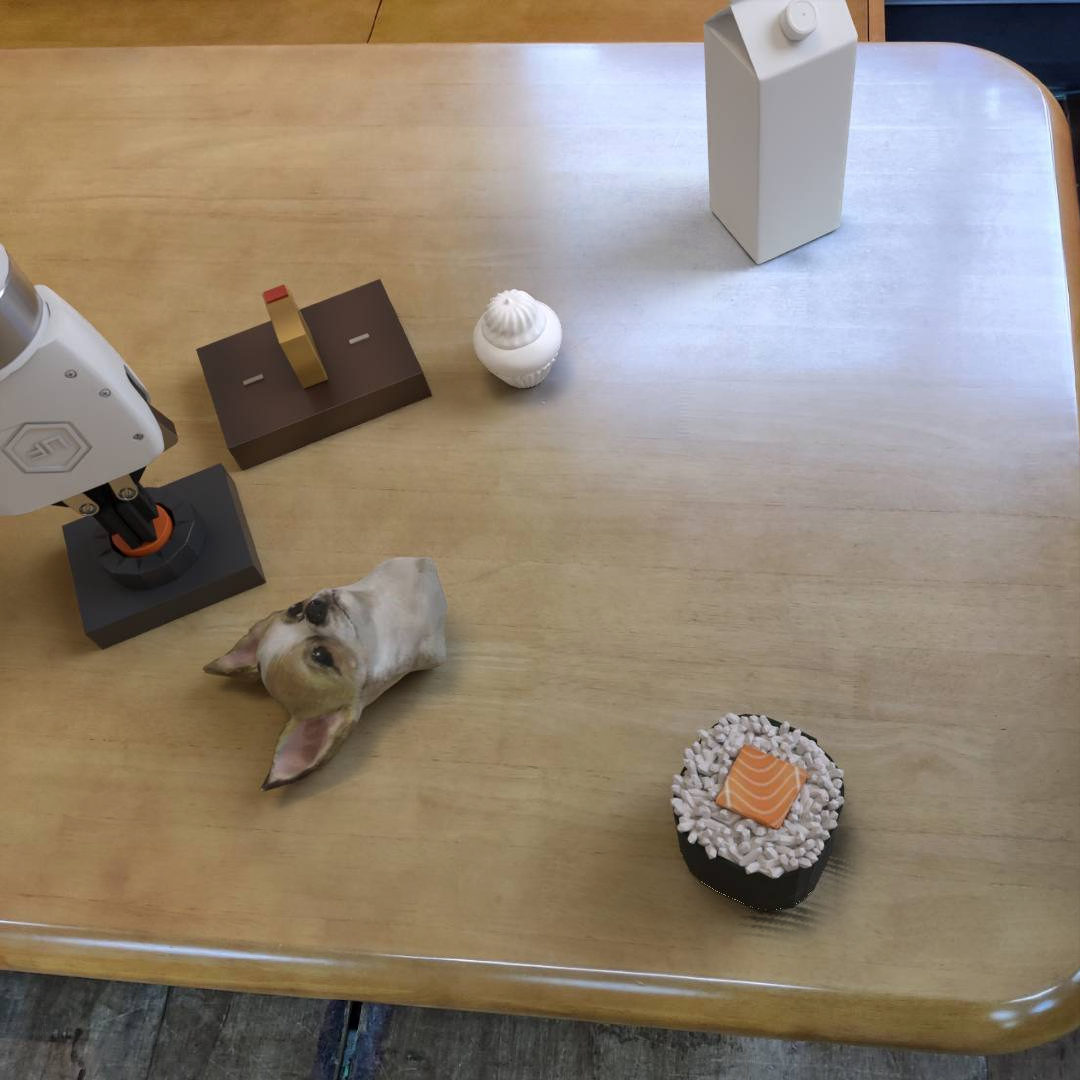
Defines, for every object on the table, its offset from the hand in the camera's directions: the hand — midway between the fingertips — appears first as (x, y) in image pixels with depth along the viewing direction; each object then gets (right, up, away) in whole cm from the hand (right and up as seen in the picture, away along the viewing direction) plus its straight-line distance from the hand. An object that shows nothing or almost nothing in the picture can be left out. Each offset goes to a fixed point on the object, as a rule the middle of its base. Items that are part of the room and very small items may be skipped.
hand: (141, 527), depth 69 cm
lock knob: (+8, +12, +8) cm, 17 cm away
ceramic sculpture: (+14, -10, -1) cm, 17 cm away
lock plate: (+8, +11, +10) cm, 17 cm away
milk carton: (+41, +24, +14) cm, 50 cm away
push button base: (0, -2, +4) cm, 4 cm away
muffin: (+23, +12, +9) cm, 28 cm away
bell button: (0, -1, +2) cm, 2 cm away
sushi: (+37, -18, -8) cm, 42 cm away
